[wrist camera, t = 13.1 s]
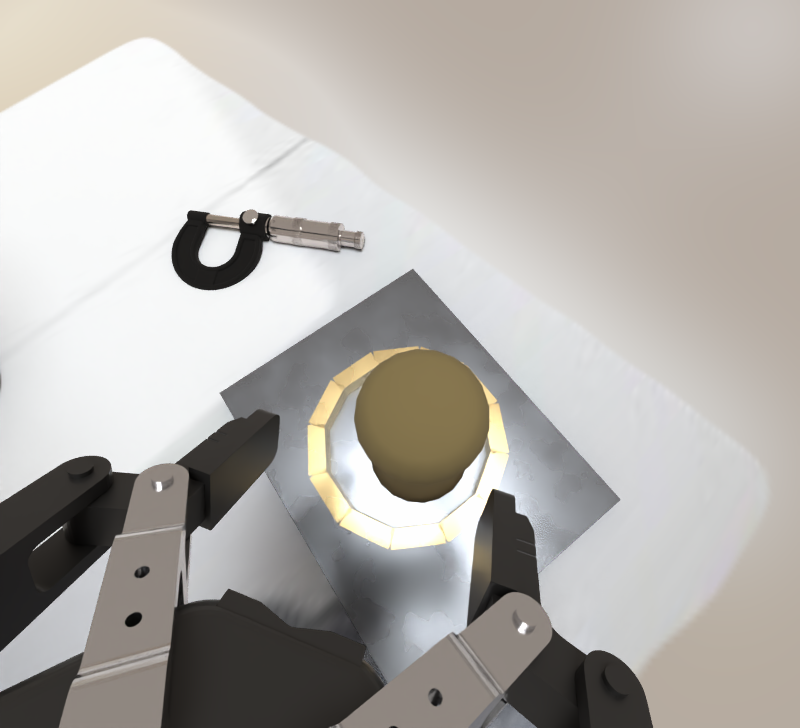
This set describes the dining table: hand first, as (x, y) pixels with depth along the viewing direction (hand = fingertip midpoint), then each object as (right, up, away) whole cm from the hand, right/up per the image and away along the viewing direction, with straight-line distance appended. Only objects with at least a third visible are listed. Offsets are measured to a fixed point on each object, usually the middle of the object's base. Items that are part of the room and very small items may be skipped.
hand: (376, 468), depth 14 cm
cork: (+2, -2, +10) cm, 10 cm away
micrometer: (-10, +12, +17) cm, 23 cm away
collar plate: (+1, -2, +11) cm, 11 cm away
